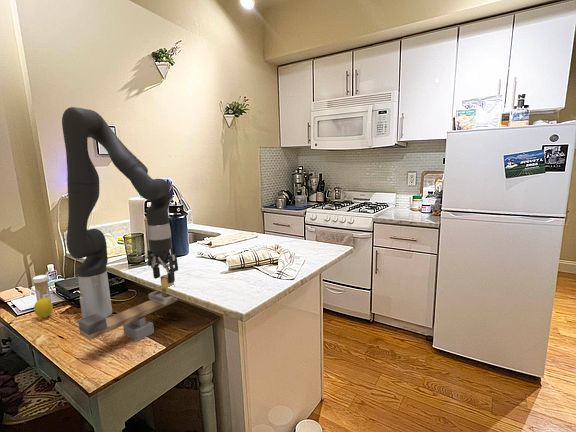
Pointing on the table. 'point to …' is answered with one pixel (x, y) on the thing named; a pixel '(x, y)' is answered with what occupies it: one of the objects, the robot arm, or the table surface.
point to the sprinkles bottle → (41, 287)
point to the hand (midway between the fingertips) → (164, 280)
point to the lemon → (43, 307)
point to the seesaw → (122, 316)
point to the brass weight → (165, 285)
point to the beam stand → (138, 328)
